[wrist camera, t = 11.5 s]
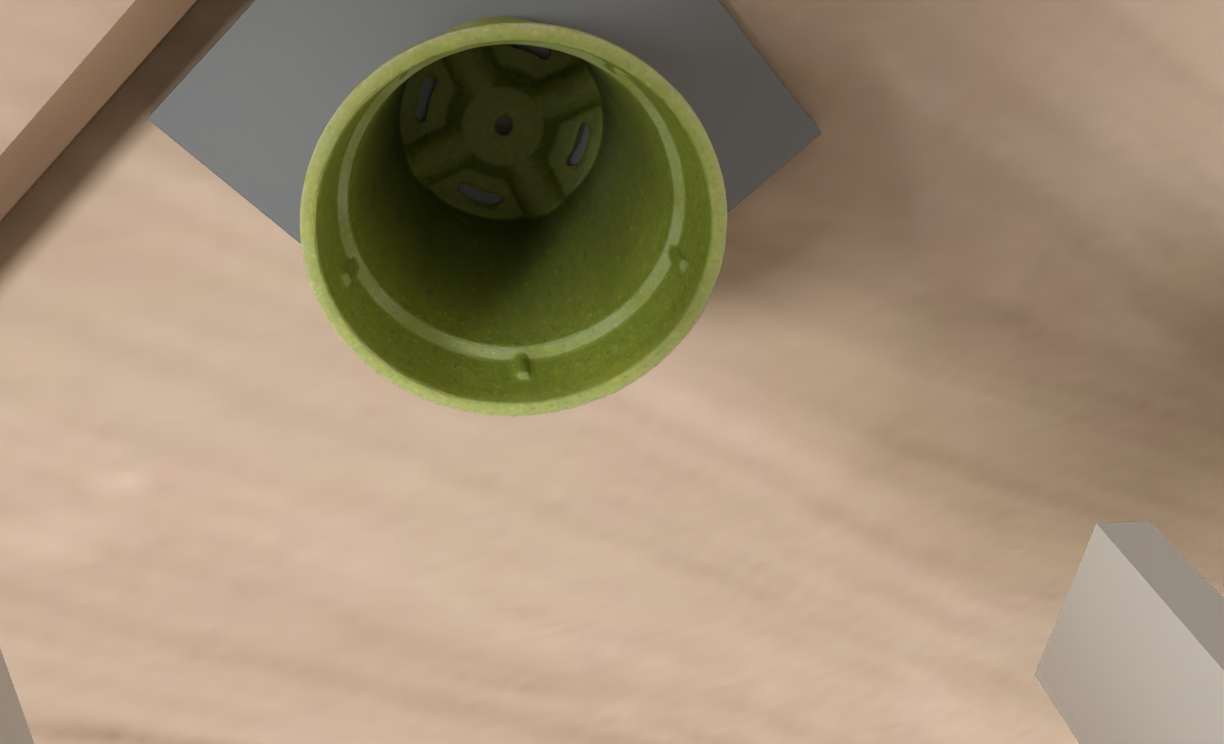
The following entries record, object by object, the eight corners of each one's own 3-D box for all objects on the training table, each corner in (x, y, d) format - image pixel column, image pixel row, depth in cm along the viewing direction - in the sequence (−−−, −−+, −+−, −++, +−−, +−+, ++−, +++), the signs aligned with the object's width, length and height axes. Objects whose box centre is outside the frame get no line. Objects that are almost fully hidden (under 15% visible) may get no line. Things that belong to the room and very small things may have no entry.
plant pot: (602, 297, 33) (649, 449, 25) (311, 228, 30) (267, 376, 23) (703, 14, 28) (793, 98, 21) (373, -95, 26) (344, -41, 18)
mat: (151, 114, 28) (147, 118, 28) (504, -273, 24) (505, -273, 24) (499, 400, 35) (499, 406, 34) (817, 128, 31) (821, 132, 31)
